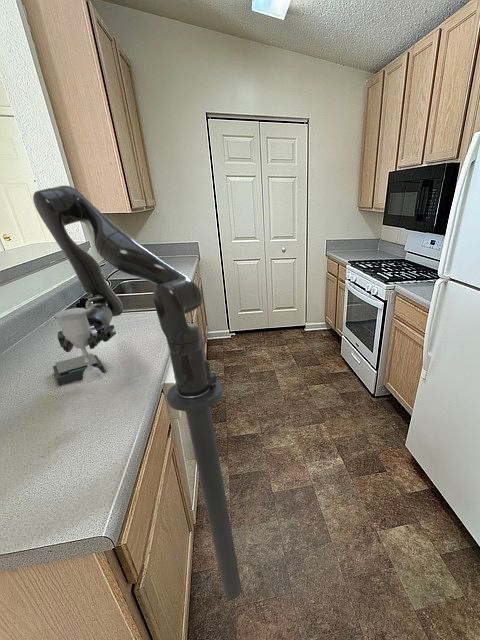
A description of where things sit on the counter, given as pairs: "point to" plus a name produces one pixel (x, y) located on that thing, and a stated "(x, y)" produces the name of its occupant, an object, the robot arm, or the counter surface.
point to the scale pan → (74, 363)
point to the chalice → (78, 337)
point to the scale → (75, 373)
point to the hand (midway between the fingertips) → (78, 346)
